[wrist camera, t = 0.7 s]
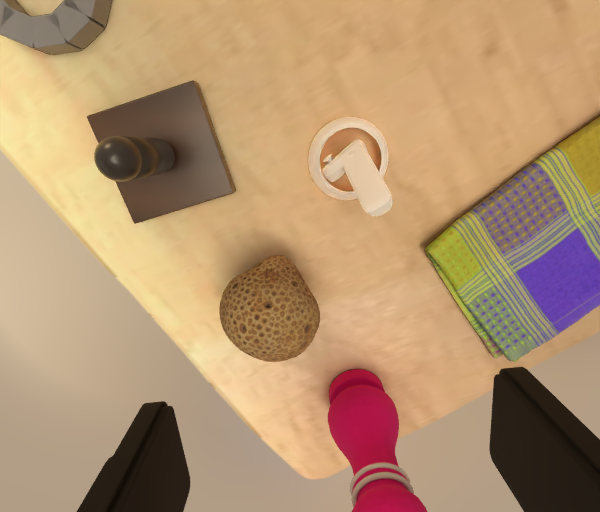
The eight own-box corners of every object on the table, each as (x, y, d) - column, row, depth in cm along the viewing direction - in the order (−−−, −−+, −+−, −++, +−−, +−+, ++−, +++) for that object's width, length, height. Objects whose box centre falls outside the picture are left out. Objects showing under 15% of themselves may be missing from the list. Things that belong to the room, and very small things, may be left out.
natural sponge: (247, 338, 40) (233, 399, 31) (215, 266, 38) (188, 307, 28) (326, 313, 39) (336, 366, 30) (298, 237, 37) (299, 269, 27)
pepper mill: (325, 419, 43) (351, 635, 24) (323, 366, 41) (349, 557, 22) (386, 415, 43) (460, 628, 24) (387, 362, 41) (468, 550, 22)
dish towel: (413, 238, 37) (422, 246, 35) (641, 83, 33) (671, 78, 31) (493, 359, 41) (507, 373, 39) (703, 234, 38) (734, 240, 35)
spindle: (95, 117, 33) (-3, 103, 22) (198, 82, 33) (149, 50, 22) (140, 220, 36) (73, 253, 25) (236, 190, 35) (210, 211, 24)
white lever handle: (370, 271, 33) (325, 241, 28) (329, 185, 40) (287, 149, 35) (445, 221, 30) (410, 178, 25) (386, 138, 37) (350, 92, 32)
